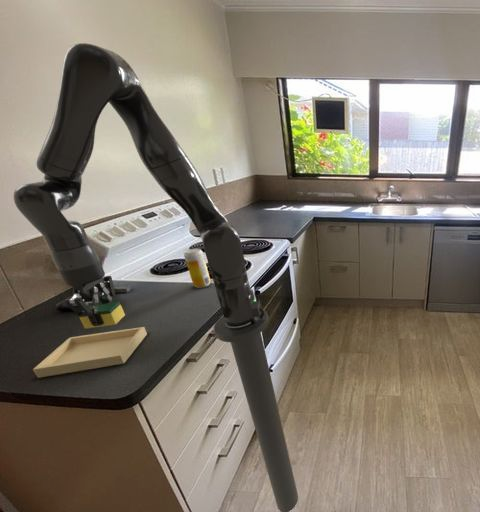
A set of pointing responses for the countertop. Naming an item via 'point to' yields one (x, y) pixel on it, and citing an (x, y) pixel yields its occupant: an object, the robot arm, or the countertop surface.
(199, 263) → the white and yellow cylinder
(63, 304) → the door handle
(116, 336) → the tray
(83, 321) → the sponge
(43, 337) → the countertop surface
